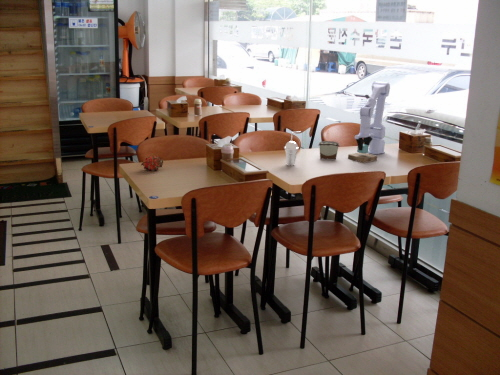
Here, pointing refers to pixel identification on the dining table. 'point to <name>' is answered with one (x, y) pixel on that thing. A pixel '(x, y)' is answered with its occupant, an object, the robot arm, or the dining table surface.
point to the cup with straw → (291, 151)
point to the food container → (328, 150)
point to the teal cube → (363, 149)
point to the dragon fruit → (152, 163)
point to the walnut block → (362, 157)
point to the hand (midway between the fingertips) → (363, 149)
